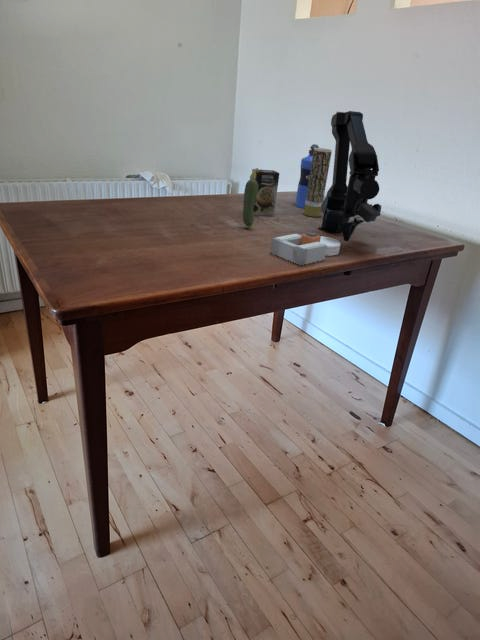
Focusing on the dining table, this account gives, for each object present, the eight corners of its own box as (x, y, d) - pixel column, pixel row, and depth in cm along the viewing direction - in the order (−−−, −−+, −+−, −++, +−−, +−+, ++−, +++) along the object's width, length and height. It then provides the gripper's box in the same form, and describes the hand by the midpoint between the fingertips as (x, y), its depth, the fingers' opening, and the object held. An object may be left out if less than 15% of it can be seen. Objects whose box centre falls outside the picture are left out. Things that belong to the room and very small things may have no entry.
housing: (270, 253, 133) (272, 237, 131) (294, 248, 140) (296, 232, 138) (300, 265, 126) (303, 249, 124) (324, 259, 132) (327, 244, 130)
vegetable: (238, 227, 155) (244, 167, 146) (244, 225, 158) (250, 165, 149) (250, 230, 153) (256, 169, 144) (256, 228, 157) (262, 167, 148)
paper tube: (321, 218, 178) (333, 151, 167) (304, 216, 178) (315, 149, 167) (319, 214, 184) (330, 149, 173) (302, 212, 184) (312, 147, 173)
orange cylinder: (298, 252, 136) (302, 232, 133) (307, 250, 138) (310, 230, 136) (309, 256, 133) (312, 236, 131) (317, 254, 136) (321, 234, 133)
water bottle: (291, 203, 198) (300, 142, 186) (310, 203, 201) (320, 143, 189) (300, 208, 190) (309, 145, 179) (320, 209, 193) (330, 146, 181)
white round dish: (339, 249, 144) (341, 238, 143) (338, 258, 135) (340, 247, 134) (308, 244, 146) (310, 233, 144) (305, 253, 137) (306, 242, 135)
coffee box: (252, 215, 172) (256, 171, 165) (247, 211, 177) (251, 168, 170) (274, 216, 174) (280, 172, 167) (269, 211, 180) (274, 169, 173)
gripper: (360, 200, 129) (349, 252, 136) (395, 195, 141) (383, 244, 148) (329, 192, 136) (320, 242, 143) (365, 188, 148) (355, 234, 155)
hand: (346, 240), depth 147 cm, fingers closed
